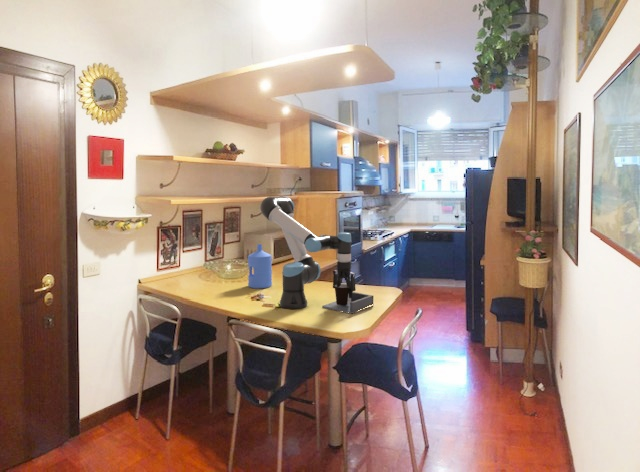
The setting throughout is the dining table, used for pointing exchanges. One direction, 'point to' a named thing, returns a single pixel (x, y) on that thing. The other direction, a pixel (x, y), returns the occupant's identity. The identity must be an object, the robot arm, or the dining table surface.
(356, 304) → the corner arena
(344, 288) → the coffee mug
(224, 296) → the dining table surface
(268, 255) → the water jug
